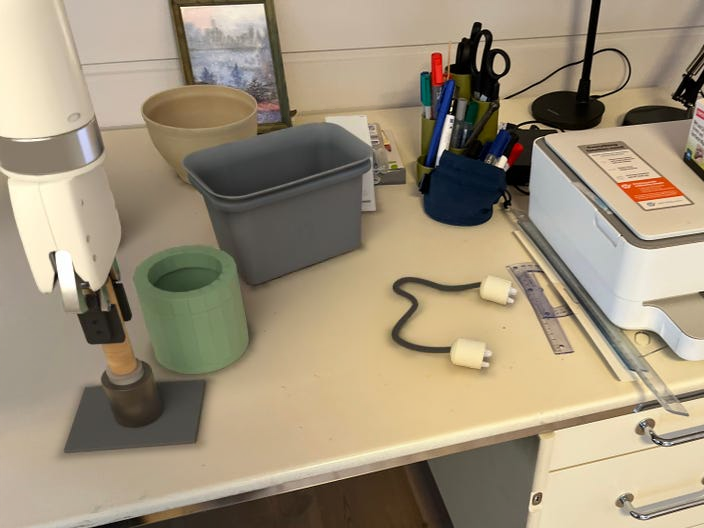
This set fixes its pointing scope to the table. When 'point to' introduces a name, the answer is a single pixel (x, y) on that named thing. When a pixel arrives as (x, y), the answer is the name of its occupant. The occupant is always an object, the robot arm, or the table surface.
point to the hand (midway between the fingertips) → (110, 329)
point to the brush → (128, 379)
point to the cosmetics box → (361, 130)
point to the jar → (192, 308)
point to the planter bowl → (197, 120)
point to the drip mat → (168, 429)
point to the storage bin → (283, 197)
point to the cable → (461, 349)
